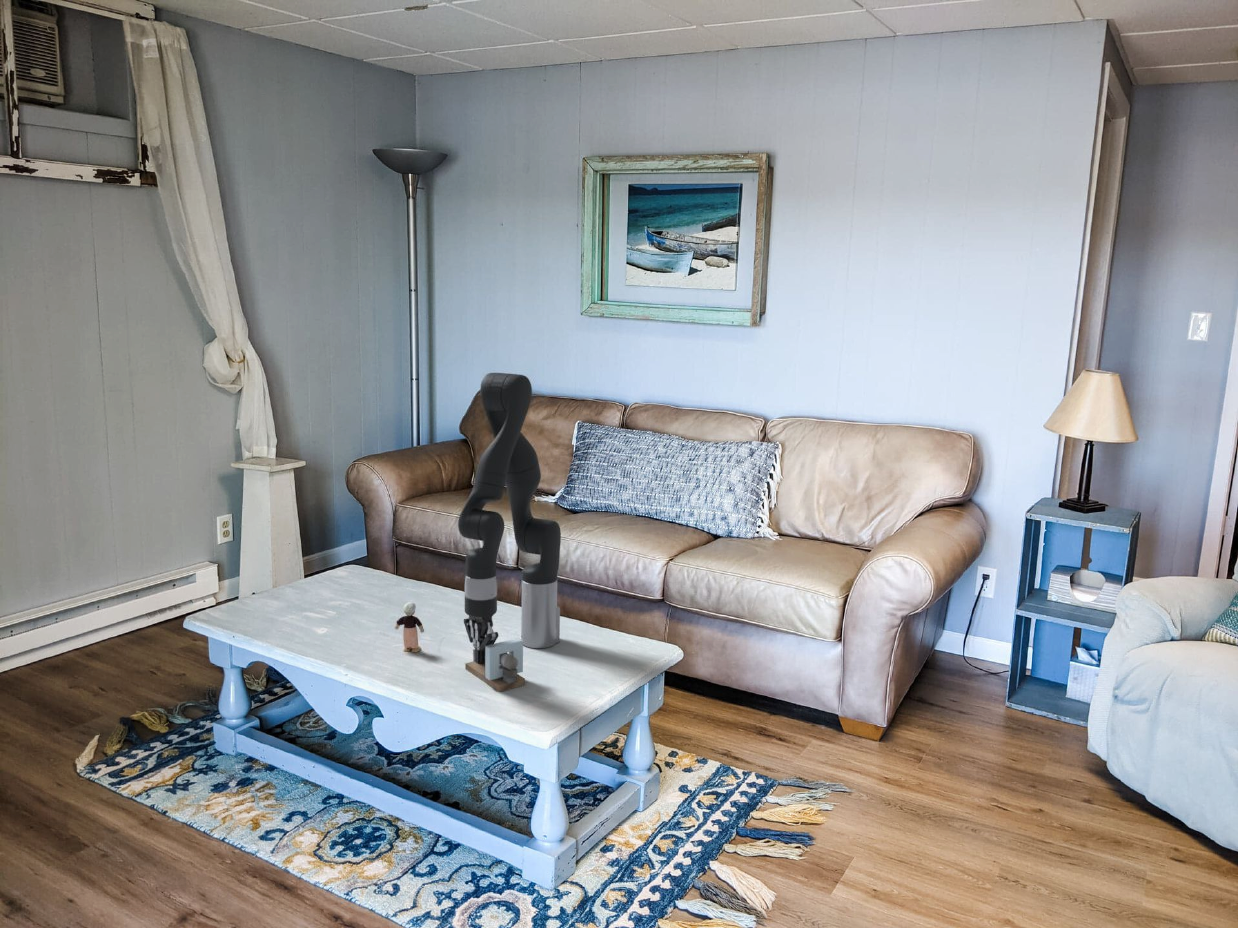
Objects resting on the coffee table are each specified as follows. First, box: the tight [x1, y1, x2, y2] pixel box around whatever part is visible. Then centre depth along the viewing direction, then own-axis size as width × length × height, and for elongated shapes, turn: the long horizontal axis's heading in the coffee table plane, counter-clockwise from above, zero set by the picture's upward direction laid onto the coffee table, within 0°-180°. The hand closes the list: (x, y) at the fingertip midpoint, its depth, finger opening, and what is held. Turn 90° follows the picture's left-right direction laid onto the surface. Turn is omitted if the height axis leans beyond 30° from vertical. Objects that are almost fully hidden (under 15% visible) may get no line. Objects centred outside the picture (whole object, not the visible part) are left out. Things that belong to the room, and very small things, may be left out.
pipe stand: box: [464, 645, 526, 693], centre depth 225 cm, size 7×16×8 cm, turn 38°
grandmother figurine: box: [394, 601, 425, 653], centre depth 240 cm, size 8×4×13 cm, turn 92°
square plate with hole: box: [485, 637, 524, 680], centre depth 221 cm, size 9×2×8 cm, turn 128°
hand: (480, 662), depth 223 cm, fingers closed
